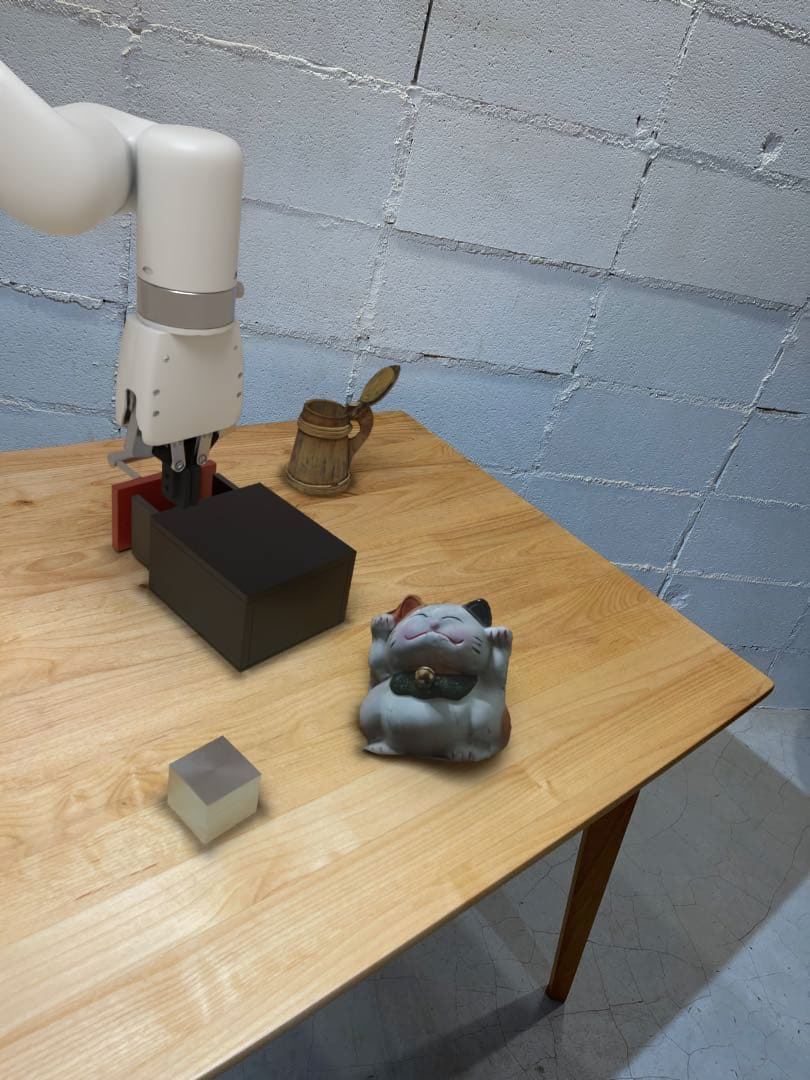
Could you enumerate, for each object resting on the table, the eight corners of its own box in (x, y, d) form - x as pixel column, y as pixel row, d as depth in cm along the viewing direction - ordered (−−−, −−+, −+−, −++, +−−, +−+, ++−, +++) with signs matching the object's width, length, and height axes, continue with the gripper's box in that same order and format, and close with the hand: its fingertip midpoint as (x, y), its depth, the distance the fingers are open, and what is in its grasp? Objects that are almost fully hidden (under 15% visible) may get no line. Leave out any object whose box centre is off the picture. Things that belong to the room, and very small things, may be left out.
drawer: (84, 521, 93) (82, 456, 89) (179, 494, 102) (182, 433, 97) (188, 615, 83) (191, 547, 79) (284, 576, 92) (292, 512, 87)
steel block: (166, 807, 65) (168, 764, 62) (219, 776, 68) (222, 734, 65) (203, 849, 62) (207, 806, 60) (256, 815, 66) (261, 773, 63)
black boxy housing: (148, 592, 86) (149, 514, 81) (252, 554, 96) (259, 482, 91) (239, 677, 78) (247, 596, 73) (343, 625, 88) (357, 551, 83)
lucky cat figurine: (328, 746, 73) (340, 592, 72) (384, 716, 84) (395, 582, 83) (488, 783, 67) (504, 616, 66) (526, 745, 78) (539, 602, 77)
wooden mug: (385, 501, 112) (409, 379, 102) (286, 497, 108) (302, 369, 99) (373, 469, 119) (394, 352, 110) (280, 464, 115) (294, 342, 106)
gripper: (232, 279, 71) (221, 463, 81) (72, 295, 61) (81, 505, 71) (289, 306, 68) (270, 496, 77) (129, 329, 57) (131, 545, 67)
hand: (180, 500), depth 74 cm, fingers closed
